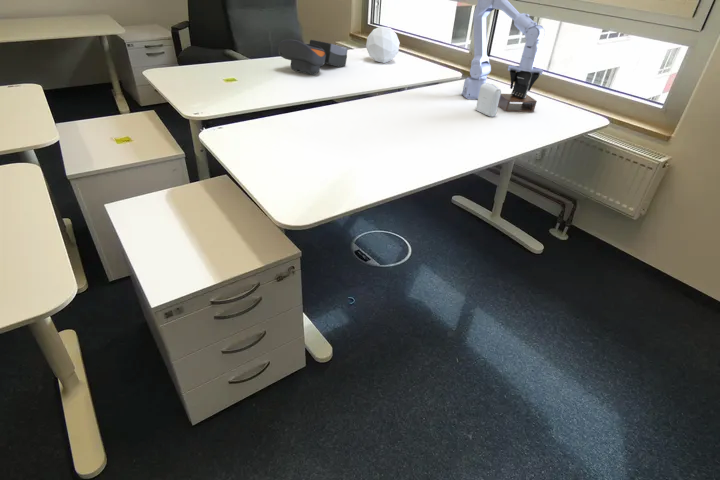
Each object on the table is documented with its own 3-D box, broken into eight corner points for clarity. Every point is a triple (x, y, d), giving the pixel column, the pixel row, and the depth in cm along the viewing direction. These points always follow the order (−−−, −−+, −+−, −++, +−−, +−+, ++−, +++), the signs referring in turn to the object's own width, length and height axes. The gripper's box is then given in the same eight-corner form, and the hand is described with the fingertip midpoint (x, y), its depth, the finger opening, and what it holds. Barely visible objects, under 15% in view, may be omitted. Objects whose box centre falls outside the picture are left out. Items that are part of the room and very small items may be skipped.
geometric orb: (387, 75, 259) (402, 51, 241) (357, 60, 254) (370, 35, 237) (394, 53, 267) (408, 29, 249) (364, 38, 262) (377, 12, 245)
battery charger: (508, 95, 195) (515, 69, 189) (513, 94, 197) (520, 68, 191) (521, 99, 191) (529, 72, 184) (526, 98, 193) (534, 72, 186)
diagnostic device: (313, 38, 205) (277, 31, 214) (307, 74, 211) (273, 66, 220) (354, 49, 237) (321, 42, 246) (348, 81, 243) (316, 73, 252)
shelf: (505, 111, 192) (508, 100, 189) (496, 104, 200) (499, 93, 197) (533, 112, 194) (536, 101, 191) (523, 105, 202) (526, 94, 199)
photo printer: (473, 109, 191) (480, 81, 184) (481, 109, 192) (488, 80, 185) (489, 117, 183) (496, 87, 176) (496, 116, 185) (504, 87, 178)
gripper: (544, 57, 187) (535, 89, 194) (510, 53, 188) (502, 85, 196) (547, 60, 181) (537, 93, 188) (512, 56, 183) (503, 89, 190)
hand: (519, 89), depth 192 cm, fingers closed on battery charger, 7 cm apart
